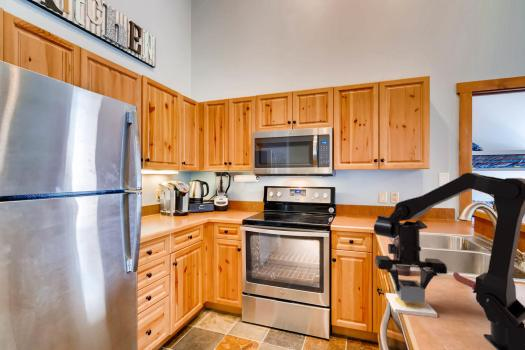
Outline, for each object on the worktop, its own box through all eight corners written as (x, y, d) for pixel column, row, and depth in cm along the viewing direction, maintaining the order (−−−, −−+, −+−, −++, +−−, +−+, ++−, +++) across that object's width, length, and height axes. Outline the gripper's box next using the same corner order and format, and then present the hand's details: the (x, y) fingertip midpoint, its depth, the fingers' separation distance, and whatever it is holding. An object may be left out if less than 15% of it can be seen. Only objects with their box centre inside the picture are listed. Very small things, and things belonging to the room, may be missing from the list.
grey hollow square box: (424, 302, 75) (424, 289, 75) (401, 300, 77) (401, 287, 77) (417, 293, 81) (416, 280, 82) (395, 291, 83) (395, 278, 83)
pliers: (470, 298, 84) (470, 290, 84) (452, 277, 103) (452, 270, 103) (515, 305, 80) (515, 297, 80) (487, 281, 98) (487, 274, 98)
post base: (437, 317, 72) (437, 297, 72) (394, 312, 75) (394, 293, 75) (422, 299, 83) (422, 282, 83) (385, 295, 86) (385, 279, 86)
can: (410, 272, 107) (410, 238, 107) (409, 277, 102) (409, 241, 102) (394, 269, 110) (394, 236, 110) (392, 274, 105) (392, 239, 105)
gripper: (431, 236, 85) (432, 283, 85) (371, 234, 89) (372, 279, 89) (447, 245, 74) (448, 299, 74) (378, 242, 78) (379, 293, 78)
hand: (409, 291), depth 79 cm, fingers closed on grey hollow square box, 6 cm apart
